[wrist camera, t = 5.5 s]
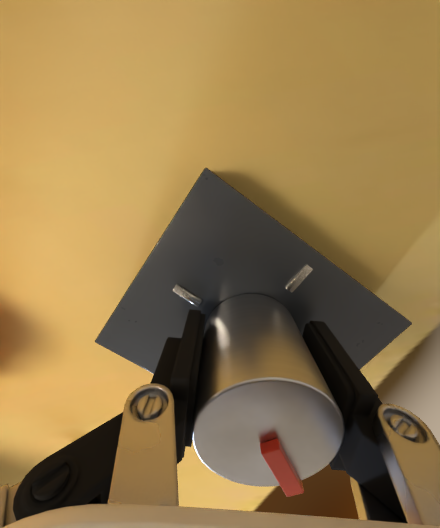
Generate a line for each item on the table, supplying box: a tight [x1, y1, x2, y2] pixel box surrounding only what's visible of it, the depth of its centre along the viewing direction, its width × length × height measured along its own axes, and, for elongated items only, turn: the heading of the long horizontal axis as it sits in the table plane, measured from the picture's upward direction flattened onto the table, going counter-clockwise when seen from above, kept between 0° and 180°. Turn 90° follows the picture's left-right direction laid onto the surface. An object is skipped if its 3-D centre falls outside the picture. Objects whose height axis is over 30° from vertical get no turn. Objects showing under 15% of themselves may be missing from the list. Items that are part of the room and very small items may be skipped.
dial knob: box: [192, 294, 345, 497], centre depth 9 cm, size 4×4×5 cm
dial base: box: [95, 168, 412, 374], centre depth 13 cm, size 12×10×3 cm
